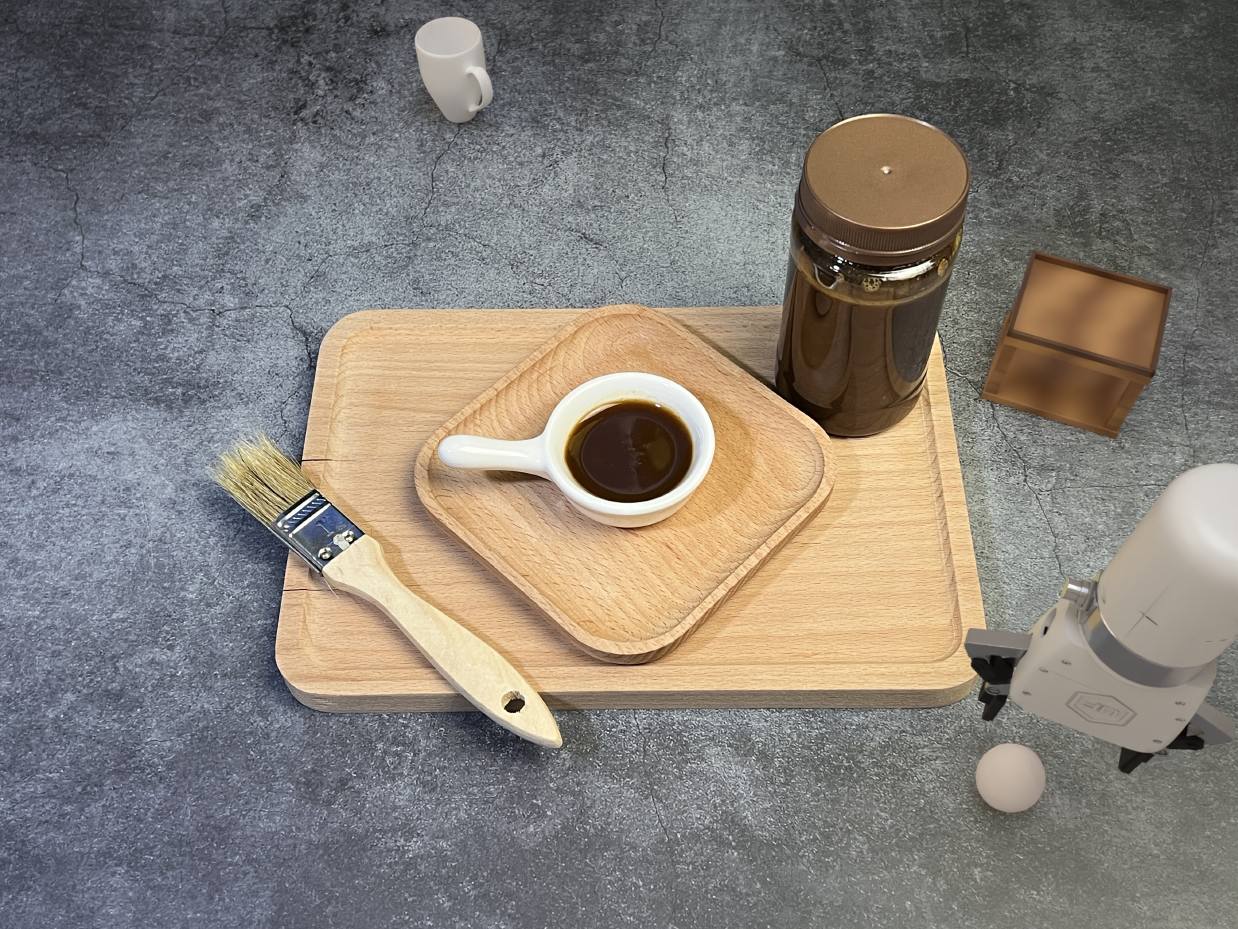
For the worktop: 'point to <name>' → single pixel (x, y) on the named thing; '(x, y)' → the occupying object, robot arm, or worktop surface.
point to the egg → (1010, 777)
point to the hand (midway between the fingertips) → (1056, 728)
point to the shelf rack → (1078, 344)
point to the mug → (454, 67)
